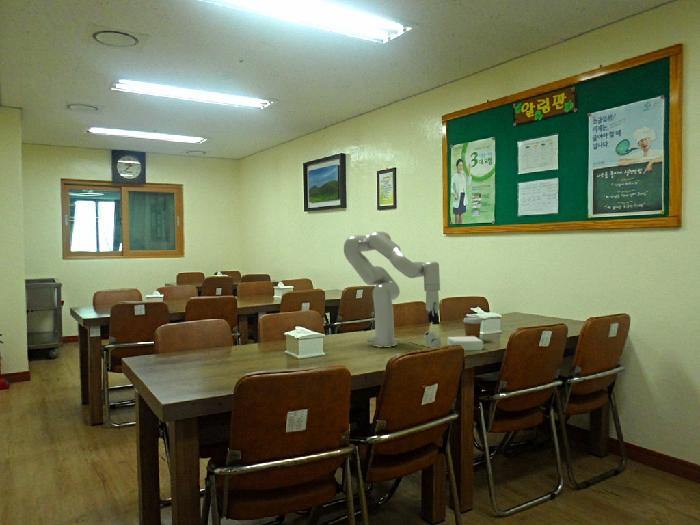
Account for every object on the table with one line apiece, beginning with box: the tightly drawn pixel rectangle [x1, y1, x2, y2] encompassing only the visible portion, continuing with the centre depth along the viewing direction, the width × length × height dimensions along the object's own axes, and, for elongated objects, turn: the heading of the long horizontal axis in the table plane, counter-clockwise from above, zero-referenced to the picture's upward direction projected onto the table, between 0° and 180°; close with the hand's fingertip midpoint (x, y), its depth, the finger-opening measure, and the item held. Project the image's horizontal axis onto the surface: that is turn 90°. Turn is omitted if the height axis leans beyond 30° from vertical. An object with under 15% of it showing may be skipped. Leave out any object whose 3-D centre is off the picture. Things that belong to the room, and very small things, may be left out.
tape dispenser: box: [423, 331, 442, 349], centre depth 257 cm, size 6×7×10 cm
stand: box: [446, 335, 484, 351], centre depth 260 cm, size 14×14×4 cm
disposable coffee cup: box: [462, 316, 483, 339], centre depth 275 cm, size 10×10×12 cm
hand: (433, 322), depth 257 cm, fingers open, 9 cm apart
